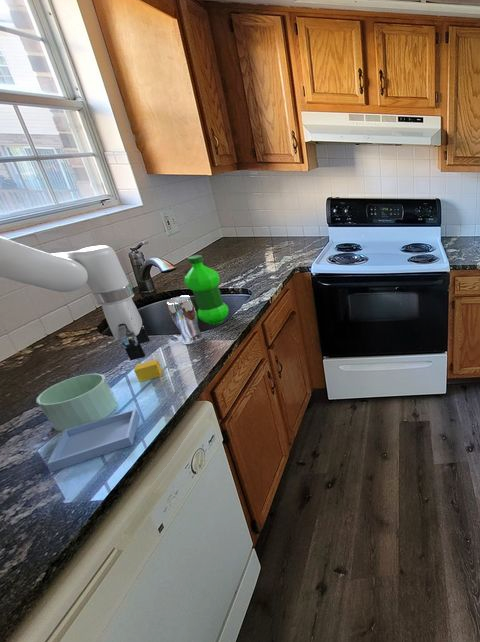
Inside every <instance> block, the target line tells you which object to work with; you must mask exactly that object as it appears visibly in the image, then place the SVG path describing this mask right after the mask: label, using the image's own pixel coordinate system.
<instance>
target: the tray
mask: <svg viewBox="0 0 480 642" xmlns="http://www.w3.org/2000/svg"><path fill="white" fill-rule="evenodd" d="M140 416H141V415H140V414H139V412H138V409H137V408H133V409H130V410H127V411H123V412H120V413H116V414H113V415H110V416H106V417H105V418H103V419H100V420H96V421H93V422H90V423H86V424H83V425H80V426H76V427H73V428H70V429H66V430H64V431H63V432H62V433H61V435H60V436H59V439H58V441H57V443H56V445H55V446H54V449H53V451H52V453H51V454H50V457H49V459H48V461H47V463H46V465H47V467H48V468H49V469H50V471H51V472H52V473H53V472H56V471H59V470H62V469H65V468H68V467H71V466H74V465H77V464H79V463H80V464H81V463H83V462H86V461H88V460H92V459H94V458H97V457H101V456H103V455H107V454H109V453H110V454H111V453H112V452H115V451H119V450H122V449H125V448H128V447H130V446H133V445H134V441H135V436H136V433H137V429H138V424H139V420H140Z"/></svg>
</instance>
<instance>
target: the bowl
mask: <svg viewBox="0 0 480 642" xmlns="http://www.w3.org/2000/svg"><path fill="white" fill-rule="evenodd" d="M35 399H36V401H35V402H36V404H37V405H38V407H39V409H40V410H41V412H42V413H43V415H44V417H45V418H46V419H47V421H48V422H49V424H50V426H51V427H52V428H53V430H55V431H56V432H60V433H61V432H62V433H63V431H64V430H66V429H70V428H73V427H76V426H80V425H83V424H86V423H90V422H93V421H96V420H100V419H103V418H106V417H109V415H110V414H112V413H113V412H114V411H115V410H116V408H117V407H118V404H119V402H118V400H117V398H116V396H115V394H114V392H113V390H112V388H111V386H110V384H109V383H108V381H107V379H106V377H105V375H104V374H101V373H95V372H94V373H86V374H81V375H77V376H73V377H70V378H67V379H65V380H62V381H59V382H57V383H55V384H53V385H51V386H49V387H48V388H46V389H45V390H44V391H42V392H41V393H39V395H38V396H36V398H35ZM114 409H115V410H114Z"/></svg>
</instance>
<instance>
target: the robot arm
mask: <svg viewBox="0 0 480 642" xmlns="http://www.w3.org/2000/svg"><path fill="white" fill-rule="evenodd" d="M0 278H3V279H7V280H10V281H15V282H18V283H22V284H26V285H30V286H33V287H38V288H42V289H44V290H45V289H46V290H48V291H49V290H50V291H53V292H59V293H71V292H74V291H77V290H80V289H81V288H83V287H84V286H85V285H86V284H87V286H88V288H89V290H90V292H91V293H92V296H93V298H94V300H95V302H96V304H97V305H98V306H101V308H102V312H103V313H104V314H103V315H104V316H105V320H106V323H107V325H108V327H109V329H110V332H111V333H112V336H113V338H114V340H116V341H121V344H122V346H123V348H124V351H126V354H127V356H128V358H129V360H130V361H135V360H139V359H142V358H143V359H144V358H145V357H146V353H145V351H144V349H143V347H142V345H141V344H144V343H149V342H150V337H149V335H148V334H147V331H146V329H145V327H144V324H143V319H142V317H141V314H140V311H139V310H138V308H137V306H136V304H135V302H134V300H133V298H134V296H135V293H134V291H133V289H132V286H131V283H130V282H129V280H128V278H127V275H126V273H125V271H124V269H123V267H122V265H121V262H120V260H119V257H118V256H117V254H116V251H115V250H114V248H112V247H111V246H109V245H94V246H88V247H84V248H81V249H79V250H73V251H64V252H55V253H54V252H53V253H50V252H46V251H43V250H40V249H37V248H33V247H30V246H27V245H25V244H22V243H18V242H16V241H14V240H11V239H8V238H6V237H3V236H1V235H0Z"/></svg>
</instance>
